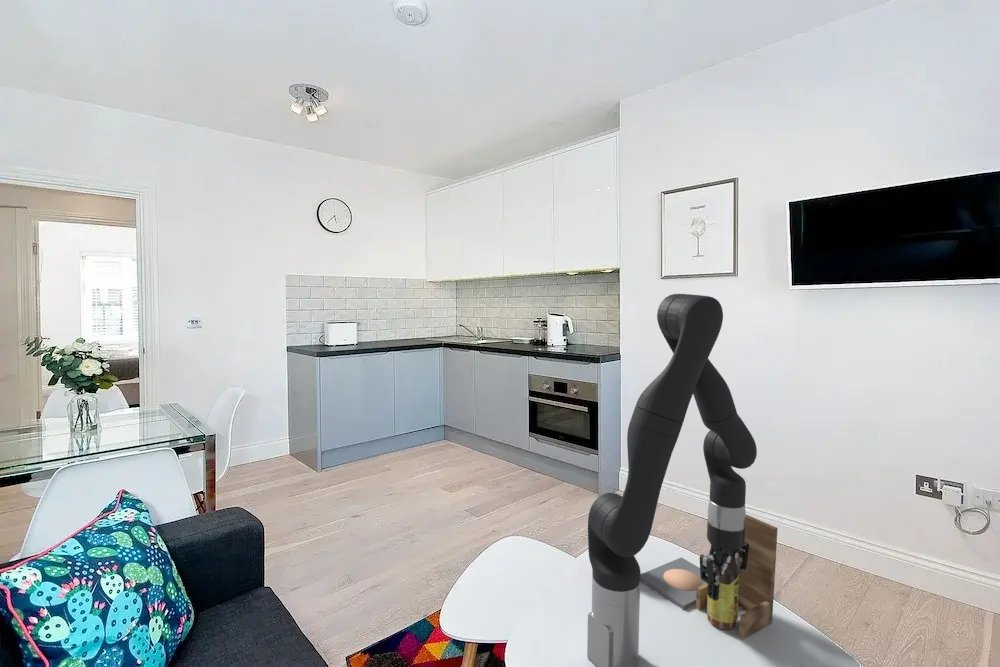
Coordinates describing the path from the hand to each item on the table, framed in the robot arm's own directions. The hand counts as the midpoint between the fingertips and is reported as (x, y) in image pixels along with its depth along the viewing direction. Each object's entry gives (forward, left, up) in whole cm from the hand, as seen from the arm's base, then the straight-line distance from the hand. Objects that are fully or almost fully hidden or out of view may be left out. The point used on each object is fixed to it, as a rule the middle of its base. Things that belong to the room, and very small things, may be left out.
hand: (723, 593), depth 112 cm
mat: (+4, +14, -7) cm, 16 cm away
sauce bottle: (0, 0, -7) cm, 7 cm away
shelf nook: (+4, 0, -7) cm, 8 cm away
